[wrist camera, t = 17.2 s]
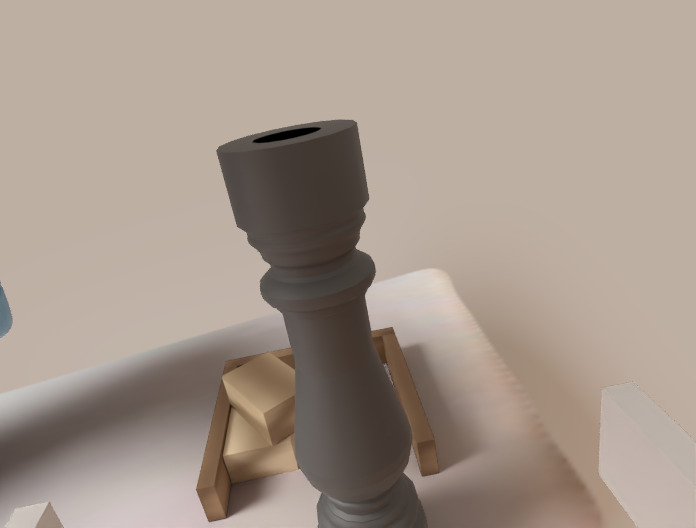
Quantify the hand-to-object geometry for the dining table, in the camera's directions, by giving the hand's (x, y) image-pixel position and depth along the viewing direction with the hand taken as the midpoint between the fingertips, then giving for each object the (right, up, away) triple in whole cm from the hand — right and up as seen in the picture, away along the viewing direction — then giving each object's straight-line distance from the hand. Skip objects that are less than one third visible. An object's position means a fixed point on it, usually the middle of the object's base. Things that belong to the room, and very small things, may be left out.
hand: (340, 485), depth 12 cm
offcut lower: (-6, -9, +29) cm, 31 cm away
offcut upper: (-6, -6, +28) cm, 29 cm away
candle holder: (+2, -12, +18) cm, 22 cm away
